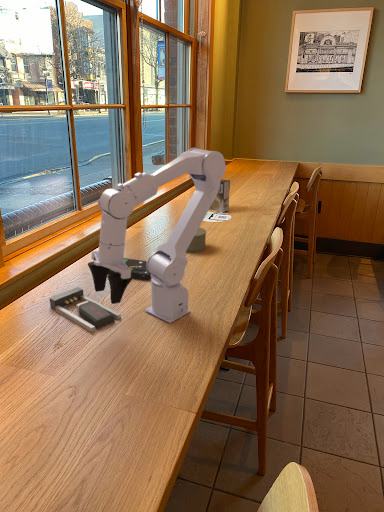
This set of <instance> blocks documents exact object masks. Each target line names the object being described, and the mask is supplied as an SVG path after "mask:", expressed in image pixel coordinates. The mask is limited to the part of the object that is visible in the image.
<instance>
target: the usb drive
mask: <svg viewBox="0 0 384 512" xmlns="http://www.w3.org/2000/svg"><path fill="white" fill-rule="evenodd" d="M76 310H77V312H78V313H79V317H80V318H81V319H83V320H85V321H86V322H88V323H90V324H91V325H93V326H95V330H98V329H101V328H103V327H104V328H105V327H106V326H108V325H110V324H113V323H115V322H116V321H115V318H114V316H113V315H112V314H111V313H109V312H108V311H106V310H105V309H104V308H102V307H101V306H99V305H98V304H96V303H94V302H92V301H89V302H88V301H85V302H84V301H82V302H80V303H78V304H77V303H76Z"/></svg>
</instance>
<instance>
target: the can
mask: <svg viewBox="0 0 384 512" xmlns="http://www.w3.org/2000/svg"><path fill="white" fill-rule="evenodd" d="M206 235H207V231H206V229H205V228H202V227H199V228H198V230H197V232H196V234H195V236H194V238H193V239H192V241H191V243H190V245H189V247H188V248H187V250H186V252H185V253H187V254H197V253H201V252H203V251H205V250H206V240H207V239H206V238H207V237H206Z"/></svg>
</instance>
